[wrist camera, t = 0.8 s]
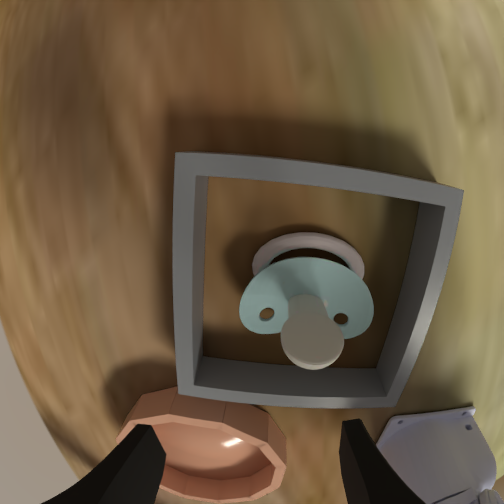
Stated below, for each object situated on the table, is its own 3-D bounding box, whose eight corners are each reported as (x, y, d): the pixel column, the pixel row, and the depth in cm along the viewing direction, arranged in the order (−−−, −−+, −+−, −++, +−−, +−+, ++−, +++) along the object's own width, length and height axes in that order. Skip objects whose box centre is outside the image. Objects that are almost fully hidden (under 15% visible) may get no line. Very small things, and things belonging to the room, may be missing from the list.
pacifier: (248, 223, 18) (240, 319, 19) (236, 257, 12) (228, 384, 13) (375, 236, 17) (355, 327, 19) (419, 274, 12) (382, 390, 13)
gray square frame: (437, 182, 16) (463, 190, 13) (384, 378, 20) (395, 406, 18) (191, 151, 16) (175, 152, 13) (188, 365, 21) (178, 393, 18)
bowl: (296, 399, 21) (298, 429, 18) (272, 484, 26) (272, 508, 23) (117, 373, 22) (102, 398, 19) (142, 464, 26) (134, 485, 23)
